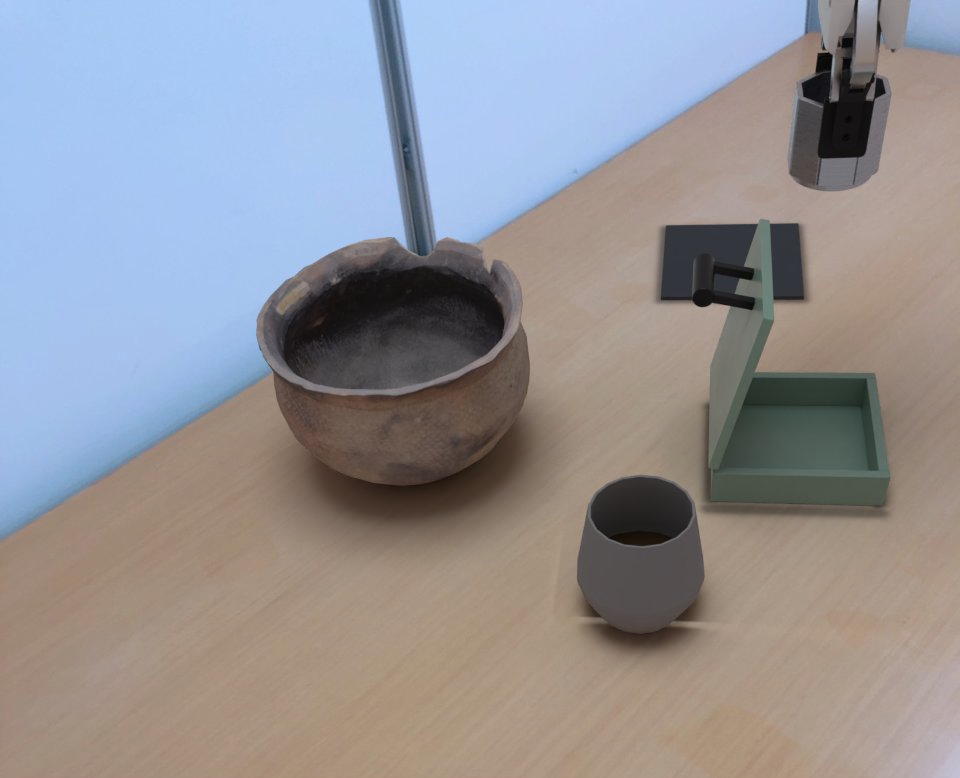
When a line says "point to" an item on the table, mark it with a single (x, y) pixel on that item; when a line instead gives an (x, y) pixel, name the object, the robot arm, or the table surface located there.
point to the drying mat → (729, 257)
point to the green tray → (806, 442)
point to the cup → (640, 553)
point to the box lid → (736, 332)
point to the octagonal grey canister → (807, 129)
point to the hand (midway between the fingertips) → (837, 130)
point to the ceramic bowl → (398, 358)
